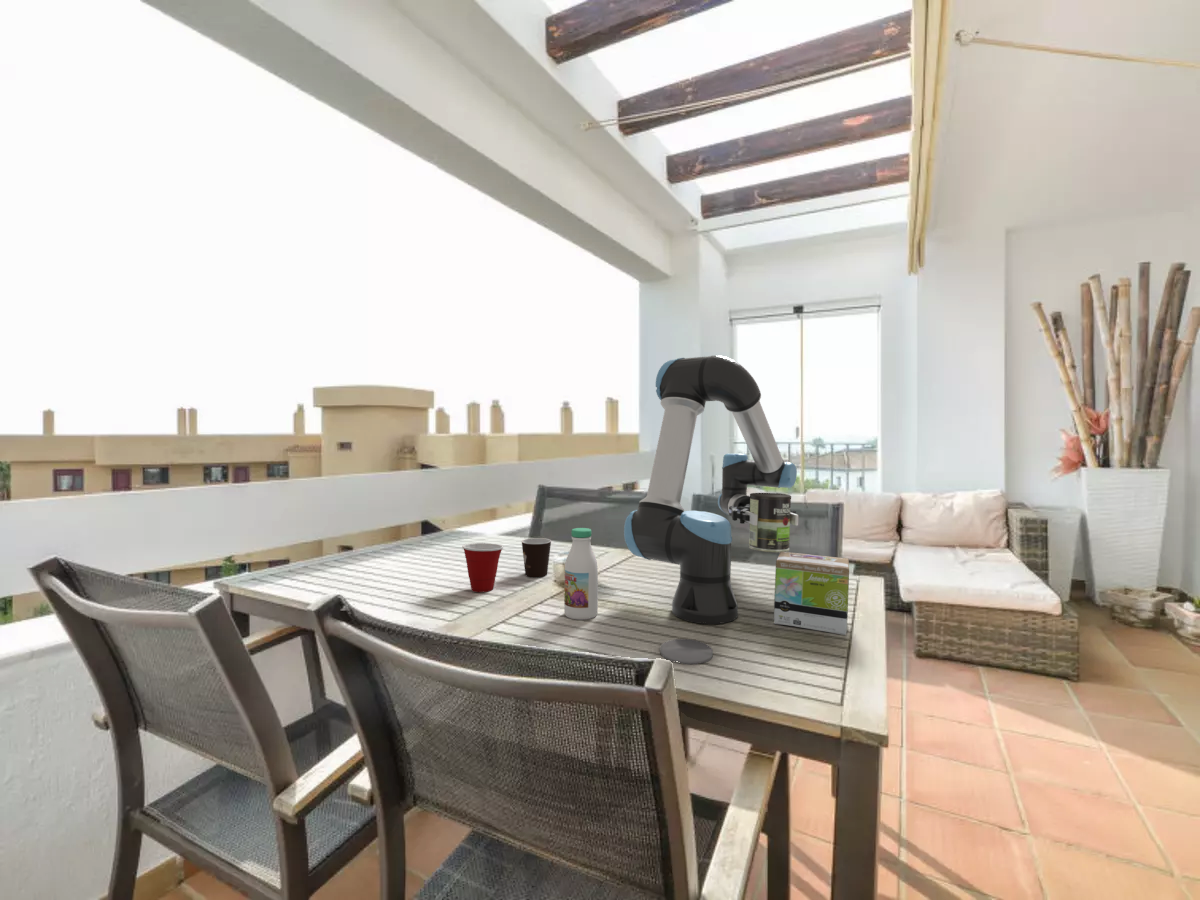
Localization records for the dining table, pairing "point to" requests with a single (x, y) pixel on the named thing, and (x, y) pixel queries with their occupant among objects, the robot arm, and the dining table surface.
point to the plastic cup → (482, 565)
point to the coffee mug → (536, 556)
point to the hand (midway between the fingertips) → (776, 520)
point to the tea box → (812, 592)
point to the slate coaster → (686, 651)
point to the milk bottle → (581, 577)
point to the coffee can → (770, 522)
